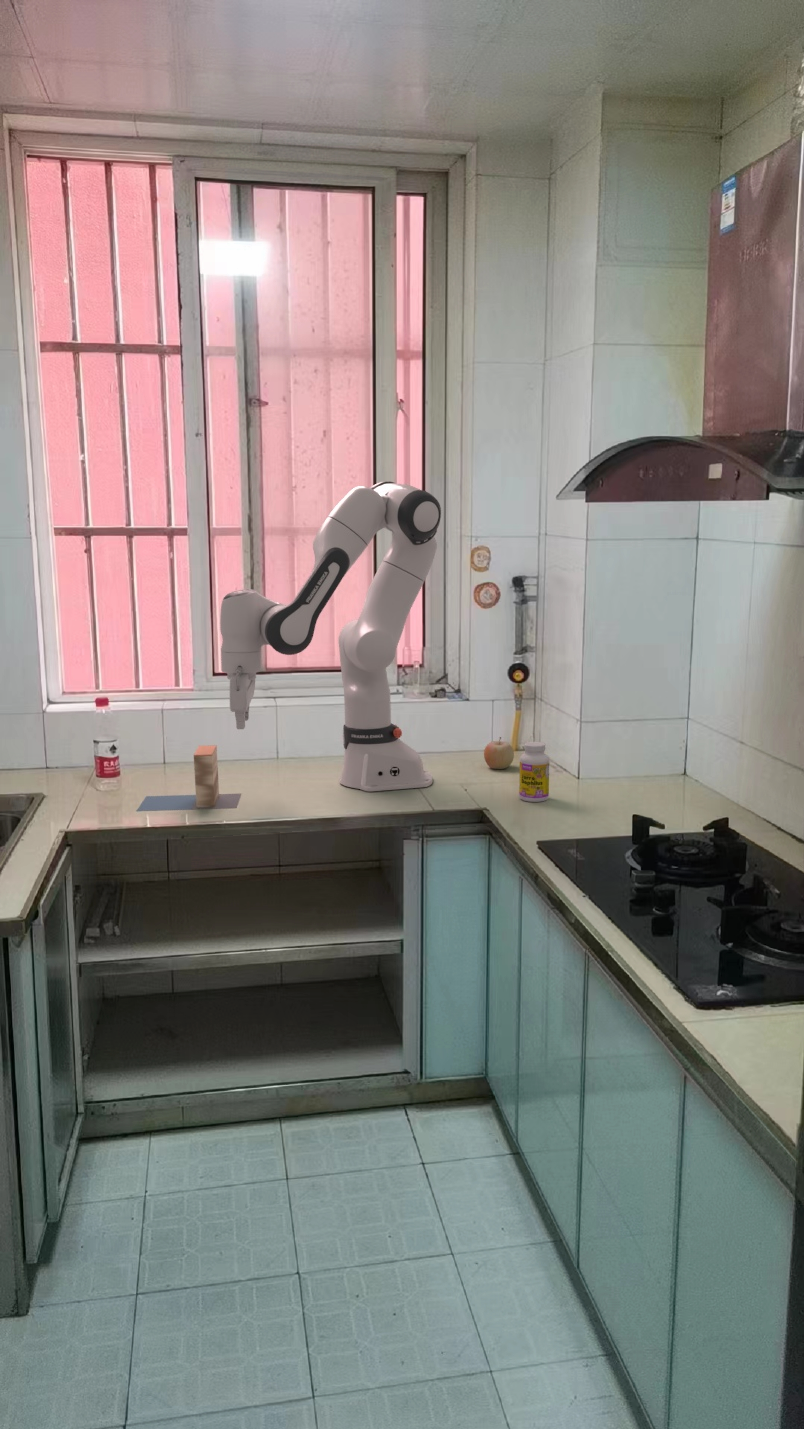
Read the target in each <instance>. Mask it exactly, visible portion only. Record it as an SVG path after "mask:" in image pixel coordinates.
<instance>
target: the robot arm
mask: <svg viewBox="0 0 804 1429" xmlns="http://www.w3.org/2000/svg"><path fill="white" fill-rule="evenodd" d="M441 517H442V508H441V504H440V502H439V501H438V499H437V498H436V497H435V496H434V495H433V494H431V493H430V492H428V491H427V490H425V489H424V490H423V489H420V488H418V487H415V486H413V485H409V484H402V483H397V482H393V481H380V482H378V483H376V484H374V485H372V486H370V487H368V486H362V485H360V486H355V487H354V488H352V489H351V490H350V491H348V493H347V494H346V495H345V496H344V497H343V498H342V499H341V500H339V502H338V503H337V504H336V506H335V507H334V508H333V509H332V510H331V511H330V513H329V514H328V515H327V516H326V518H325V520H324V521H323V522H322V524H321V525H320V527H319V529H318V531H317V533H316V535H315V537H314V539H313V541H312V549H313V554H314V564H313V568H312V571H311V573H310V575H309V576H308V578H307V579H306V580H305V582H304V583H303V585H302V587H301V588H300V590H299V592H298V593H297V594H296V596H295V597H294V599H292V601H291V602H290V603H288V604H287V605H286V604H283V603H281V602H278V601H274V600H273V599H270V598H267V597H266V596H264V595H262V594H260V593H259V592H258V591H257V590H256V589H254V588H253V589H251V588H248V589H247V588H246V589H240V590H239V589H238V590H235V591H231V592H228V593H227V594H226V595H225V596H224V597H223V598H222V600H221V605H220V623H219V624H220V629H219V630H220V634H221V639H222V640H221V642H222V643H221V648H220V657H221V658H220V662H221V663H220V664H221V666H220V668H221V672H222V673H225V674H227V680H229V709H230V712H231V713H232V712H233V713H234V716H235V722H236V725H235V726H236V729H237V730H244V729H245V728H246V722H247V721H249V719H250V716H249V715H250V704H251V702H252V700H253V697H254V695H255V690H256V689H255V688H256V679H257V673H259V672H262V668H263V667H262V647H263V646H265V645H267V646H271V647H272V649H273V650H274V651H276V652H277V653H278V654H282V655H284V656H286V655H287V656H292V655H297V654H300V653H302V652H303V651H305V650H306V649H307V648H308V647H309V646H310V644H311V642H312V640H313V637H314V633H315V630H316V624H317V621H318V619H319V616H320V615H321V614H322V612H323V611H324V608H325V607H326V605H327V604H328V602H329V600H330V599H331V597H332V596H333V594H334V593H335V591H336V589H338V586H340V583H341V582H342V580H343V578H344V577H345V576H346V575H347V573H348V572H349V571H350V569H351V568H352V566H353V565H354V564H355V563H356V561H357V560H359V558H360V557H361V555H362V554H363V553H364V551H365V550H366V548H367V547H369V544H370V543H371V541H372V540H373V538H374V537H375V535H376V534H377V533H378V532H379V531H381V530H382V529H385V530H387V531H390V532H391V542H390V547H389V548H388V550H387V551H386V553H385V555H384V557H383V558H382V561H381V563H380V564H379V567H378V569H377V571H376V573H375V574H374V577H373V579H372V580H371V583H370V584H369V587H368V589H367V591H366V597H365V600H364V602H363V605H362V608H361V612H360V614H359V616H358V619H354V620H352V621H348V623H346V624H345V625H344V626H343V627H342V629H341V631H340V633H339V636H338V649H339V652H338V653H339V662H340V669H341V670H340V671H341V677H342V678H341V679H342V685H343V686H342V687H343V697H344V698H343V700H344V701H343V702H344V725H343V730H342V743H343V748H344V756H343V764H342V765H343V766H342V770H341V775H340V779H339V783H340V785H342V786H345V787H348V788H353V789H360V790H361V791H364V792H382V791H390V790H391V791H392V790H406V789H414V788H415V789H417V788H428V787H430V786H431V785H432V784H433V783H434V781H433V775H432V773H431V772H429V771H428V770H425V769H424V763H423V760H422V757H421V755H420V753H418V751H416V750H415V749H414V748H412V747H411V746H409V745H408V744H407V743H405V742H404V741H402V740H401V739H400V738H401V737H402V735H403V733H402V732H403V731H402V729H401V728H400V727H399V726H398V725H397V724H394V723H392V721H391V720H392V718H391V717H392V715H391V713H392V712H391V709H392V708H391V689H390V686H389V680H388V674H387V668H388V667H389V666H390V665H391V664H392V663H393V661H394V660H395V658H396V654H397V653H396V652H397V648H398V645H399V643H400V640H401V636H402V634H403V631H404V628H405V625H406V622H407V618H408V616H409V613H410V611H411V608H412V607H413V604H414V602H415V601H416V599H417V597H418V595H419V593H420V591H421V589H422V587H423V585H424V583H425V581H426V579H427V576H428V574H429V572H430V570H431V567H432V564H433V561H434V559H435V555H436V551H437V547H438V545H437V543H438V542H437V540H436V538H435V536H436V534H437V532H438V528H439V526H440V522H441Z"/></svg>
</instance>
